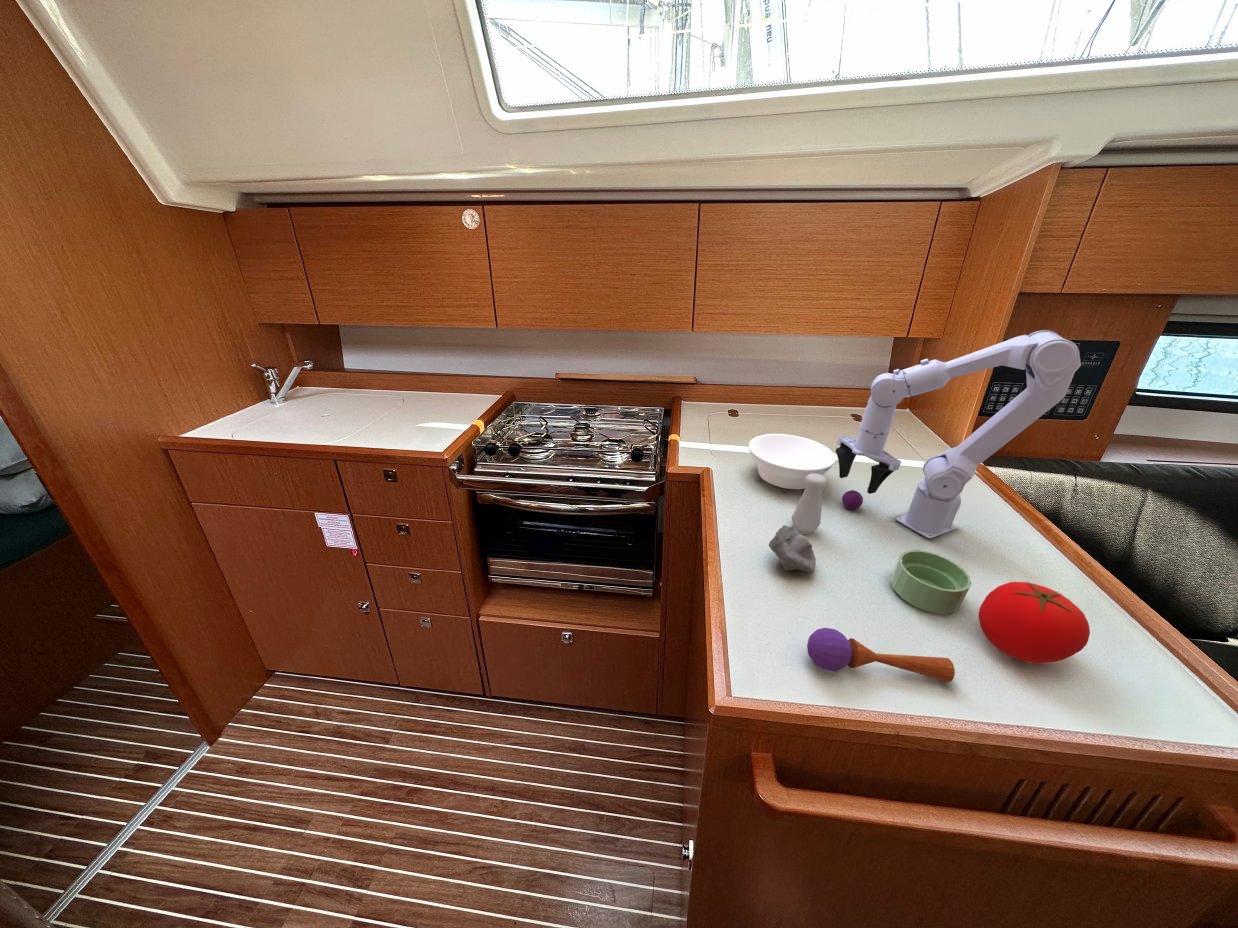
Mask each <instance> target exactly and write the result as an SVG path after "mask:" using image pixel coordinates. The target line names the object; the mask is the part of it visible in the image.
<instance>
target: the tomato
mask: <svg viewBox="0 0 1238 928" xmlns="http://www.w3.org/2000/svg"><path fill="white" fill-rule="evenodd" d="M978 621H979V622H978V623H979V627H980V629H981V631H982V634H983V635H984V637H985V638H986V639H987V640H988V641H989V642H990V644H992V645H993V646H994V647H996V648H997V649H998V650H999V651H1000V652H1002V653H1004V654H1005V655H1006V656H1009V657H1011V658H1014V659H1016V660H1019V661H1022V662H1026V663H1031V664H1036V665H1037V664H1039V665H1041V664H1043V665H1044V664H1048V663H1049V664H1051V663H1057V662H1060V661H1064V660H1066V659H1068V658H1070V657H1073V656H1074V655H1075V654H1078V653H1080V652H1081V651H1082V650H1083V649H1084V648H1085V647H1086V646H1087V644H1088V642H1089V638H1090V634H1091V631H1090V624H1089V621H1088V619H1087V617H1086V615H1085V613H1084V612H1083V611H1082V610H1081V608H1079V607H1078V606H1077V605H1076V604H1075V603H1073V601H1071V600H1070V599H1069V598H1067V597H1066V596H1064V595H1063V593H1061V592H1058V591H1056V590H1054V589H1051V588H1049V587H1046V586H1044V585H1040V584H1037V583H1033V582H1030V581H1009V582H1006V583H1003V584H1001V585H1000V584H999V585H998V586H996V587H994V589H992V590H991V591H990V592H989V593H988V594H987V595H986V596H985V598H984V599H983V601H982V603H981V604H980V606H979V610H978Z"/></svg>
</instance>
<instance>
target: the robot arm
mask: <svg viewBox="0 0 1238 928" xmlns="http://www.w3.org/2000/svg"><path fill="white" fill-rule="evenodd" d="M919 362H920V363H918V364H916V365H912V366H910V367H907V368H904V369H899V368H896V369H894V370H893V373H890V372H884V373H881V374H879V375H877V376H876V377H875V378H874V379H873V381H872V382H871V383H870V395H869V397H868V400H867V402H866V403H867V405H866V406H865V408H864V410H863V415H862V418H861V421H860V424H859V428H858V431H857V432H858V433H857V435H856V438H854V437H850V436H847V435H840V436H839V435H838V436H837V440H836V445H838V446H839V447H836V448H835V454H836V457H837V460H838V468H839V469H838V470H839V471H838V473H839V474H838V477H839V479H844V478H848V476H849V474H850V472H851V469H852V466H853V463H854V460H855V459H856V456H863V457H866V458H867V459H870V460H872V461H873V462H877V463H878V464H875V465H871V467H870V469H871V474H870V481H869V483H868V487H867V490H866V492H867V494H869V495H871V494H875V493H877V491H878V490H879V488H880V487H881V485H882V484H883V482H884V481H885V480H886V479H887V478H888V477H889V476H890V475H891V474H892V473H894V472H896V471H898V470H899V469H900V467H901V464H902V461H901V460H900V459H898V458H896V457H895V456H893V455H891V454H890V453H889V452H888V451H886V450H884V449H885V446H886V443H887V440H888V438H889V434H890V430H891V427H892V424H893V422H894V419H895V416H896V410H897V406H898V405H899V404H900V403H901V402H902V400H903V399H904V398H911V397H915V396H918V395H921V394H924V393H928V392H931V391H936V390H938V389H941V388H944V387H945V386H946V385H947V384H948V382H950V380H951V379H955V378H959V377H961V376H965V375H970V374H973V373H978V372H982V371H985V370H989V369H992V368H996V367H1000V366H1003V367H1008V368H1012V369H1017V370H1023V371H1024V370H1025V376H1026V378H1025V379H1026V388H1025V389H1024V390H1023V391H1020V393H1019V394H1018V395H1017V396H1015V397H1014V398H1013V399H1012V400H1010V401H1009V402H1008V403H1007V404H1006V405H1005V406H1003V407H1002V408H1000V410H999V411H997V412H996V413H995V414H994V415H992V416H991V417H990V418H989V419H988V420H987V421H985V422H984V423H983V424H982V425H980V427H978V428H977V429H976V430H975V431H974V432H972V433H971V434H970V435H969V436H968V437H966V438H965V439H964V440H963V441H962V442H960V443H959V444H958V445H957V446H953V447H951V448H947V449H946V450H945V451H943V452H942V453H940V454H938V455H934V456H932V457H930V458H928V459H927V460H926V461H925V462H924V463H923V466H922V471H923V475H924V478H923V479H922V480H921V481H920V482H918V483H917V487H916V489H915V492H914V494H913V497H912V499H911V502H910V505H909V508H908V510H907V513H906V514H905V515H902V516H899V517H896V519H895V521H897V522H898V523H900V524H902V525H903V526H905V527H906V528H909V529H910V530H912V531H913V532H916V533H917V534H919V535H921V536H922V537H924V538H926V539H928V540H931V539H934V538H936V537H939V536H942V535H944V534H946V533H950V532H951V531H955V530H956V526H954V525H953V522H954V521H955V518H956V516H957V513H958V511H959V509H960V507H961V503H962V497H961V495H960V494H962V492H963V490H964V488H965V486H966V484H967V483H968V482H969V481H971V480H972V479H973V477H974V475H975V473H976V472H977V469H978V467H979V466H980V465H981V464H982V463H983V462H985V461H987V459H988V458H990V457H991V456H993V455H994V454H995V453H996V452H998V451H999V450H1000V449H1001V448H1003V447H1004V446H1005V445H1007V443H1009V442H1010V441H1012V440H1013V439H1015V437H1017V436H1018V435H1019V434H1020V433H1021V432H1024V430H1025V429H1027V428H1028V427H1029V426H1031V425H1032V424H1033V423H1034V422H1035V421H1037V420H1038V419H1039V418H1041V417H1042V416H1043V415H1044V414H1046V413H1047V412H1048V411H1050V410H1051V409H1052V408H1054V406H1056V405H1057V404H1059V403H1060V402H1062V400H1063V399H1064V398H1066V395H1067V393H1068V391H1069V388H1070V386H1071V383H1072V380H1073V378H1074V376H1075V373H1076V371H1078V369H1080V368H1081V366H1082V362H1081V356H1080V350H1079V347H1078V346H1077V344H1076V343H1075V342H1073V341H1072V340H1069V339H1066V338H1064V337H1062V336H1061V335H1059V333H1058V332H1055V331H1053V330H1046V329H1045V330H1044V329H1041V330H1037V331H1034V332H1031V333H1030V334H1028V335H1027V334H1023V335H1018V336H1015V337H1012V338H1009V339H1006V340H1004V341H1002V342H1001V341H1000V342H998V343H996V344H994V345H991V346H988V347H987V346H986V347H984V348H982V349H979V350H977V351H974V352H971V353H968V354H965V355H963V356H959V357H957V358H954V359H952V360H949V361H946V362H945V361H942V360H939V359H931V360H929V358H925V359H921V360H920V361H919Z"/></svg>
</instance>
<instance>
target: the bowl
mask: <svg viewBox="0 0 1238 928" xmlns="http://www.w3.org/2000/svg"><path fill="white" fill-rule="evenodd" d="M748 448H749V449H748V450H749V452H750V457H751V459H752V461H753V463H754V464H755V465H756V466H757V471H758V475H759V476H760V478H761V479H762V480H763V481H765V482H766V483H768V484H771V485H773V486H776V487H778V488H783V489H789V490H803V489H804V490H805V489H806V486H805V483H804V481H805V478H806V476H807V475H809V474H812V473H813V474H820V475H822V476H824V475H825V474H827V472H828V471H829V470H830V469H831V468H832V467H833V465H834V464H836V461H837V458H836V455H835V453H834V452H833V451H832V450H831V449H830V448H829V447H827V446H825V445H824V444H822V443H820V442H818V441H815V440H812V439H810V438H807V437H804V436H799V435H793V434H786V433H767V434H761V435H758V436H755V437H754V438H752V439H751V440H750V441H749V442H748Z"/></svg>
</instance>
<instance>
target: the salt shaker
mask: <svg viewBox="0 0 1238 928" xmlns="http://www.w3.org/2000/svg"><path fill="white" fill-rule="evenodd" d="M804 483H805V486H806V488H804V491H803V493H802V496H801V497H800V499H799V501H798V503H797V505H796V507H795V509H794V511H793V513H792V515H791V521H792V527H794V528H795V529H796V530H797V531H799V532H800V533H801V534H802V535H811V534H812V533H814V532H815V531H816V530H817V529H818V528H819V527H820V525H821V523H822V522H821V521H822V505H823V504H822V503H823V491H824V490H825V489H826V488H827V487H828V479H827V477H826V476H824V475H820V474H813V473H812V474H809V475H807V476H806V478H805V481H804Z"/></svg>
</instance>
